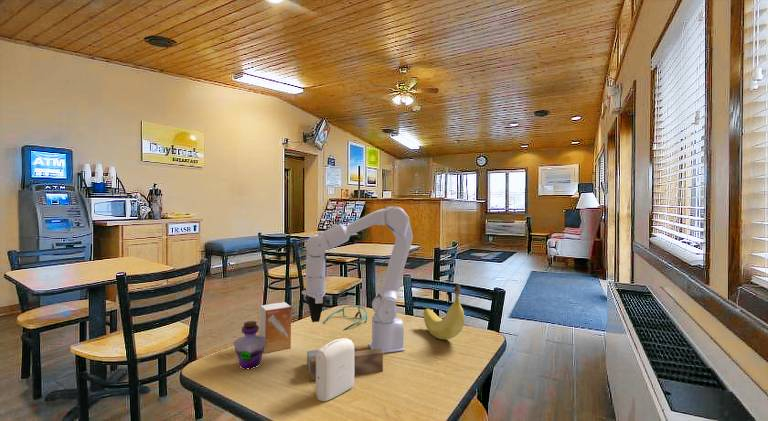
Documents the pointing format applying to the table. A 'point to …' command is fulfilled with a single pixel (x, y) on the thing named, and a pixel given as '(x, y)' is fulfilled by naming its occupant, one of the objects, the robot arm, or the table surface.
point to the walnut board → (358, 362)
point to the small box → (276, 326)
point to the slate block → (310, 353)
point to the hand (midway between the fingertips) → (315, 321)
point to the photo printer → (334, 369)
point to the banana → (446, 320)
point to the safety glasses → (348, 316)
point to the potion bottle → (250, 346)
